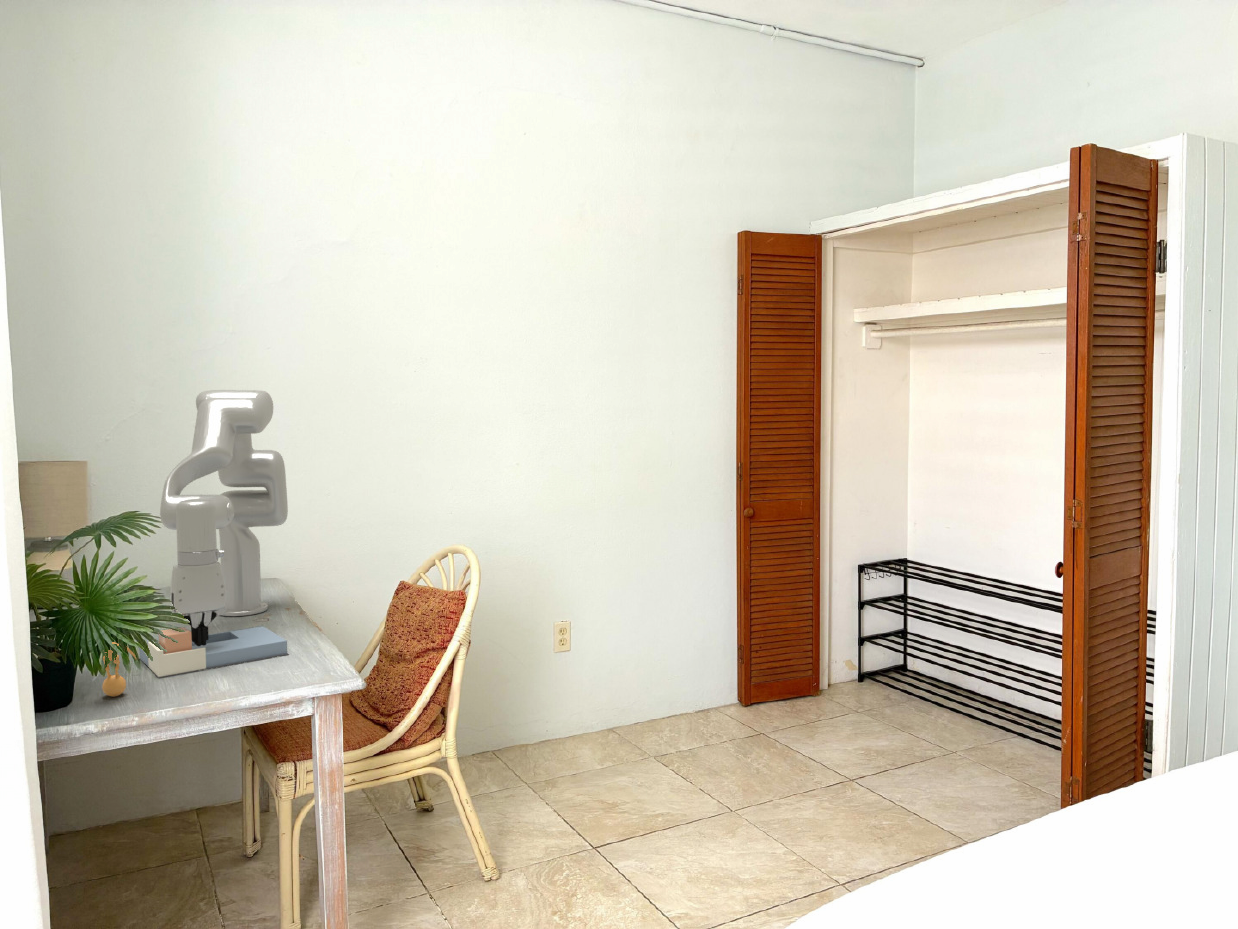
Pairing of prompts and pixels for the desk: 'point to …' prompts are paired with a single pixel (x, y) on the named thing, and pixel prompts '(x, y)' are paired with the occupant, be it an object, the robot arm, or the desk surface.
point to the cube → (181, 637)
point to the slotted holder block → (217, 652)
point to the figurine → (114, 677)
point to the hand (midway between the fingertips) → (200, 644)
